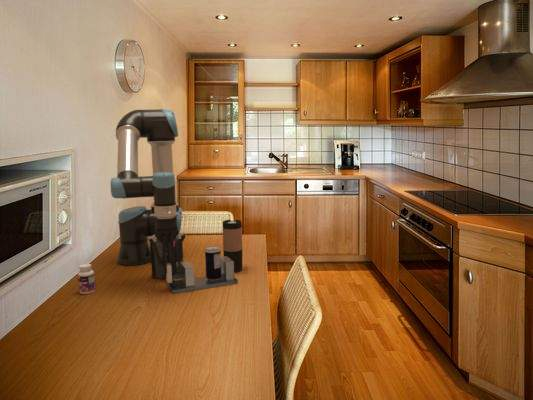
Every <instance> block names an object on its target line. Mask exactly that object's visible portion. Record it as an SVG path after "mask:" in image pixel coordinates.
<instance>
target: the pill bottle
mask: <svg viewBox="0 0 533 400" xmlns="http://www.w3.org/2000/svg"><path fill="white" fill-rule="evenodd" d="M78 267H79V271H78V273H77V279H78V291H79V294H80V295H81V294H82V295H87V294H92V293H94V292H96V281H95V279H96V278H95V271H94V270H93V269H92V264H90V263H83V264H80V265H79V266H78Z"/></svg>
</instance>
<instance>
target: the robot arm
mask: <svg viewBox="0 0 533 400" xmlns="http://www.w3.org/2000/svg"><path fill="white" fill-rule="evenodd" d="M177 124H178V123H177V119H176V116H175V112H174V111H173V110H171V109H165V108H164V109H163V108H160V109H135V110H131V111H129V112H128V113H126V114H125V115H124V116H123V117H121V119H120V120H119V121H118V123H117V125H116V129H115V137H116V140H117V165H116V167H117V169H116V170H117V172H116V173H117V175H116V177H113V178H112V177H111V179H110V194H111V197H112V198H114V199H133V198H134V199H137V198H151V197H152V198H153V202H152V203H151V205H150V208H151V209H147V207H146V206H144V205H142V206H141V205H138V206H133V207H128V208H124V209H122V210H120V212H119V213H118V229H119V244H120V245H119V249H118V251H117V252H118V253H117V257H116V262H117V264H118V265H120V266H121V265H122V266H139V265H145V264H148V263H151V252H150V243H151V244H152V247H153V250H154V253H155V256H156V259H157V262H158V264H162V265H163V272H164V274H166V279H165V281H166V283H167V282H168V283H172V281H173V279H172V273H174V264H175V263H176V262H179V259H180V254H181V249H182V243H183V242H184V241H185V239H186V235H185V234H184V233H180V232H181V229H182V219H183V209H182V207H179V203H178V202H177V200H176V178H175V174H174V167H173V166H174V162H173V145H174V144H175V142H176V138H177V137H179V132H178V125H177ZM141 138H143V139H144V138H145V139H146V142H147V143H148V144H149V145H150V150H151V164H152V165H151V166H152V167H151V168H152V176H149V175H148V176H145V175H144V176H139V149H138V148H139V141H140V139H141ZM177 236H178V243H177V248H176V253H175V258H174V248H173V245H174V243H173V242H174V240H175V239H176V237H177ZM156 238H157V239H158V240H159V241H160V242H161V248H162V260H161V258H160V255H159V252H158V249H157V246H156V243H155V242H156ZM166 243H168V244H169V260H170V263H167V255H166Z"/></svg>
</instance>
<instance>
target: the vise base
mask: <svg viewBox="0 0 533 400" xmlns="http://www.w3.org/2000/svg"><path fill="white" fill-rule="evenodd" d="M238 282H239V281H238V278H236V277H235V273H234V261H232V260H231V259H230V258H228V257H227V256H224V255H223V256H221V278H220V279H219V280H217V281H210V280H208V279H207V278H206V275H204V276H198V277H194V286H191V287H186V286H185V285H184V284H183V282H182V281H181V279H175V280H172V283H168V282H167V281H166V286H167V287H168V288H169V290H170V292H171V293H172V295H174V294H179V293H185V292H192V291H198V290H199V291H200V290H205V289H212V288H218V287H223V286H228V285H236V284H238Z"/></svg>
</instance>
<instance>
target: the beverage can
mask: <svg viewBox="0 0 533 400" xmlns="http://www.w3.org/2000/svg"><path fill="white" fill-rule="evenodd" d="M221 254H222V253H221V249H220V246H218V245H217V246H216V245H211V246H206V247H205V251H204V258H205V276H206V278H207V279H208V280H210V281H217V280H219V279H220V278H221V257H222V255H221Z"/></svg>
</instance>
